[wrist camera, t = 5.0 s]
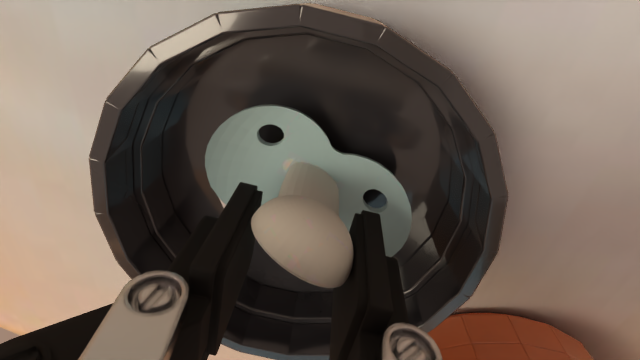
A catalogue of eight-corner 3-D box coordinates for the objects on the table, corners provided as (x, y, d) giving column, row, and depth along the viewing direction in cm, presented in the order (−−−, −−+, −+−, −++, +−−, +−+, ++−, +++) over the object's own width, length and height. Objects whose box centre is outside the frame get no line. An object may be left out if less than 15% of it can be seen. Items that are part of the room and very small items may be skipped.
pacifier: (336, 271, 16) (424, 178, 13) (326, 418, 11) (472, 311, 8) (192, 191, 15) (258, 69, 12) (94, 312, 9) (175, 138, 6)
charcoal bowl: (534, 59, 12) (602, 80, 8) (403, 321, 18) (416, 390, 14) (145, -41, 11) (66, -57, 8) (148, 264, 17) (104, 323, 14)
